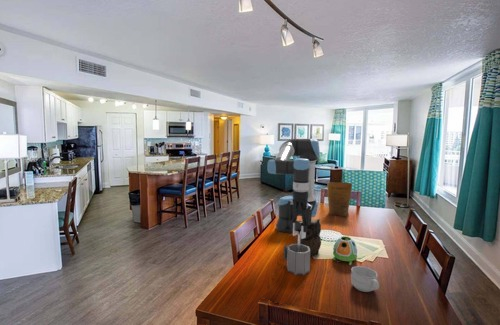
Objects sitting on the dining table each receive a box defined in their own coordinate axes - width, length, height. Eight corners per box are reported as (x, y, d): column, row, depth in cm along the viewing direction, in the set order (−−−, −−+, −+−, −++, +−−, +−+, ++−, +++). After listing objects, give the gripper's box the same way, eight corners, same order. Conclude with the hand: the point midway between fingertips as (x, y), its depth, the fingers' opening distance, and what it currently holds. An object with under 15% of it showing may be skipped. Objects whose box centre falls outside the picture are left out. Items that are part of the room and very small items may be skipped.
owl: (321, 250, 159) (322, 217, 157) (319, 260, 147) (321, 224, 145) (299, 247, 163) (300, 215, 161) (296, 257, 151) (297, 222, 149)
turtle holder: (359, 253, 156) (361, 233, 154) (354, 267, 140) (355, 245, 139) (337, 249, 162) (338, 229, 160) (330, 261, 146) (331, 240, 145)
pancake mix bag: (349, 217, 220) (351, 183, 217) (325, 214, 229) (327, 181, 226) (350, 215, 226) (352, 182, 223) (327, 212, 235) (328, 180, 232)
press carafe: (277, 266, 140) (278, 245, 139) (291, 259, 148) (291, 240, 147) (300, 277, 130) (301, 255, 129) (313, 269, 138) (314, 248, 136)
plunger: (287, 259, 137) (288, 221, 135) (296, 254, 143) (298, 218, 140) (300, 264, 132) (301, 225, 130) (309, 259, 137) (310, 222, 135)
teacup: (346, 281, 127) (347, 265, 126) (368, 281, 128) (369, 264, 127) (360, 300, 113) (362, 282, 112) (385, 299, 114) (387, 281, 113)
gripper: (281, 188, 137) (280, 233, 140) (311, 194, 124) (309, 243, 127) (291, 186, 142) (290, 229, 145) (320, 192, 129) (318, 239, 132)
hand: (299, 236), depth 136 cm, fingers closed on plunger, 4 cm apart
